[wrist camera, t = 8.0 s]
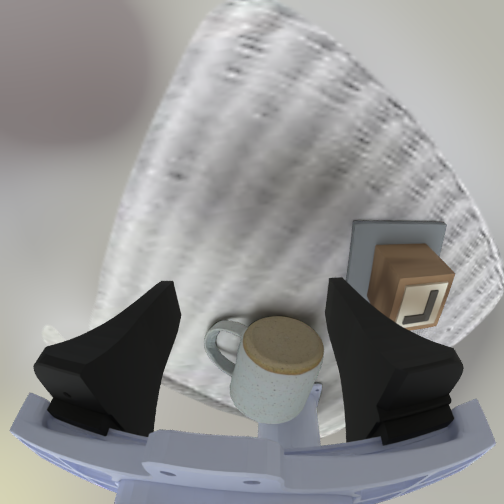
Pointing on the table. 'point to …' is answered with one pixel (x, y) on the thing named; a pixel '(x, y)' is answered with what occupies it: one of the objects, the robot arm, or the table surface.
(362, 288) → the slate mat
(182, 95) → the table surface
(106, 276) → the table surface
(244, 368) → the ceramic mug
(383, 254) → the letter cube
